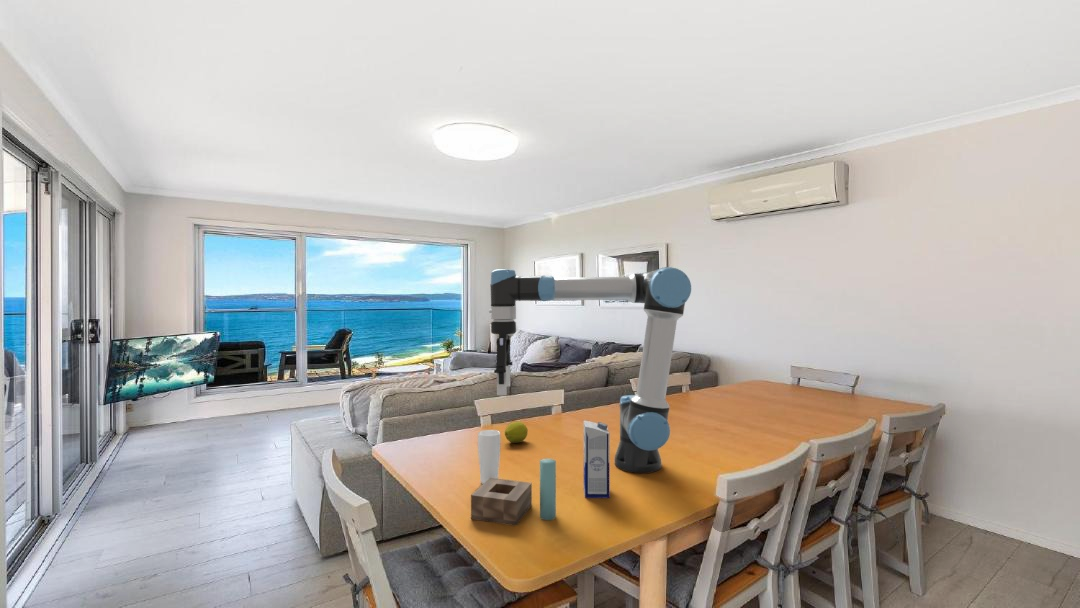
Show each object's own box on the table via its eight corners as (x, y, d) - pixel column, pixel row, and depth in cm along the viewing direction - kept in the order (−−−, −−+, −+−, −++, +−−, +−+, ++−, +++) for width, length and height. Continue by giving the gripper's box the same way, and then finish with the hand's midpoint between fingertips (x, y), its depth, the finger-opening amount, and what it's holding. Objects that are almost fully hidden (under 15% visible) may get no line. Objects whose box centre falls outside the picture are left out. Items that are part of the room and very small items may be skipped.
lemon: (520, 437, 188) (520, 417, 188) (533, 442, 182) (533, 421, 182) (498, 443, 181) (498, 422, 181) (511, 448, 175) (511, 426, 175)
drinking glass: (491, 488, 138) (491, 437, 138) (473, 483, 141) (473, 433, 141) (505, 481, 144) (505, 431, 143) (487, 476, 147) (487, 428, 147)
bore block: (531, 505, 127) (531, 482, 127) (516, 525, 115) (516, 501, 115) (490, 499, 130) (490, 477, 130) (471, 518, 119) (471, 495, 119)
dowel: (557, 514, 122) (557, 459, 121) (553, 521, 118) (553, 464, 118) (542, 512, 123) (542, 458, 123) (537, 518, 119) (537, 463, 119)
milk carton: (583, 487, 138) (583, 419, 138) (606, 487, 138) (606, 419, 138) (585, 498, 131) (585, 425, 131) (609, 498, 131) (609, 426, 131)
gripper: (495, 318, 157) (496, 383, 157) (485, 322, 132) (486, 399, 132) (518, 318, 156) (519, 383, 157) (512, 322, 131) (513, 399, 132)
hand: (504, 390), depth 144 cm, fingers open, 13 cm apart
